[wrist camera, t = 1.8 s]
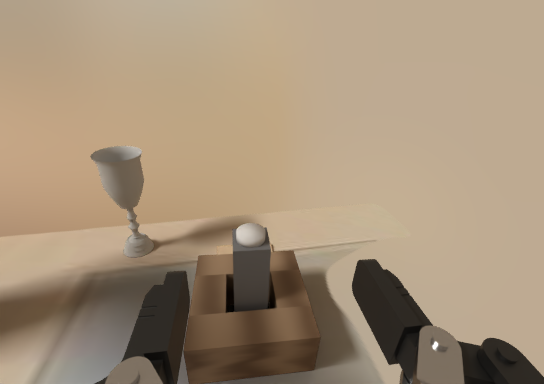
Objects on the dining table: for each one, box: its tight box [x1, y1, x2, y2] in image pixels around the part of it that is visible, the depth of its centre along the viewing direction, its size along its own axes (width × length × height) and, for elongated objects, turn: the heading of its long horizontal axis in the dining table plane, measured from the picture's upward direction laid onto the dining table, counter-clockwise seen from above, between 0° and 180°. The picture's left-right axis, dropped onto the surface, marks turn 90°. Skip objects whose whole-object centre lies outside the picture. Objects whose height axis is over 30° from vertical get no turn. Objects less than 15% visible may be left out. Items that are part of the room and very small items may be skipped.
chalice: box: [91, 146, 154, 257], centre depth 44 cm, size 7×7×18 cm
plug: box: [233, 223, 271, 312], centre depth 33 cm, size 4×4×15 cm
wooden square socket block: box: [183, 251, 321, 384], centre depth 35 cm, size 14×14×6 cm
